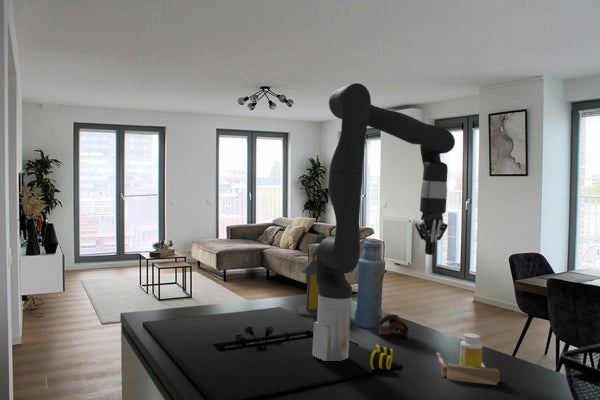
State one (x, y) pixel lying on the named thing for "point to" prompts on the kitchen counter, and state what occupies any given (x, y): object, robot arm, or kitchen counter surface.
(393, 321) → the brown jagged curved piece
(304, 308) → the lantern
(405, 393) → the kitchen counter surface
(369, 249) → the bottle
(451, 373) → the bay
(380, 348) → the opera glasses
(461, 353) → the supplement bottle
